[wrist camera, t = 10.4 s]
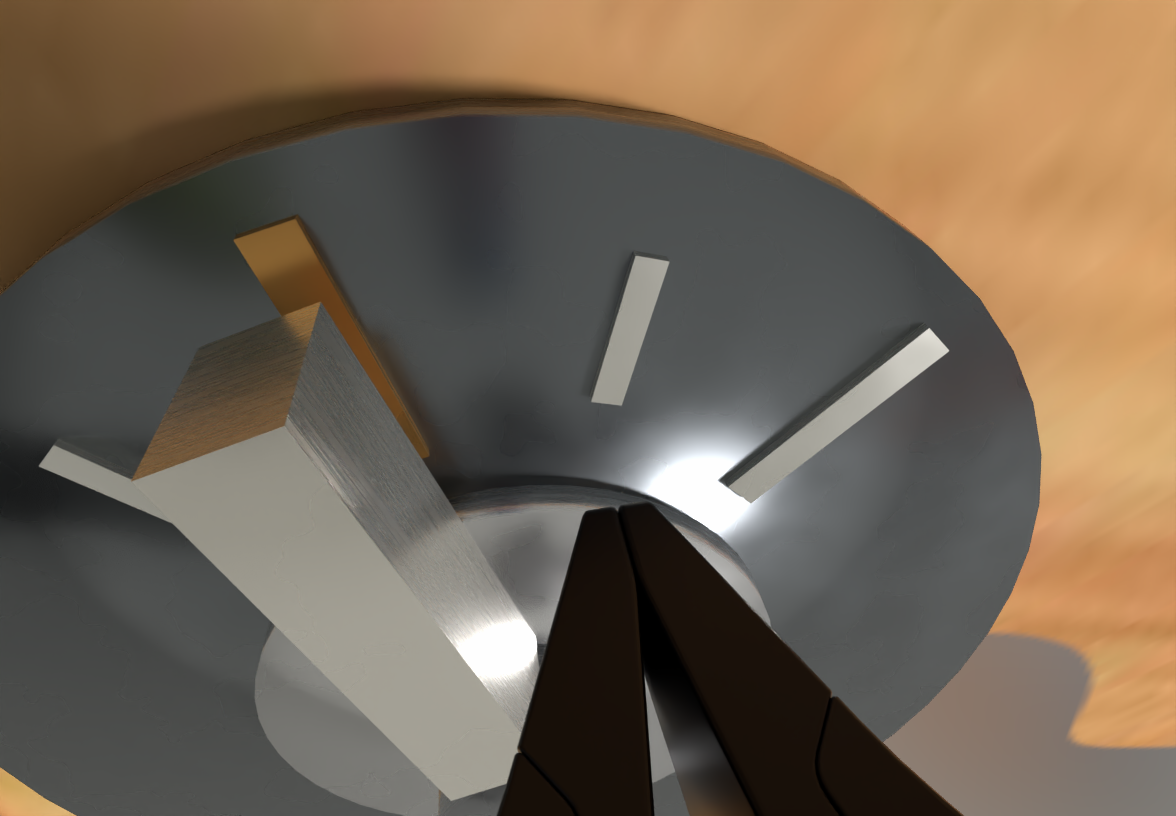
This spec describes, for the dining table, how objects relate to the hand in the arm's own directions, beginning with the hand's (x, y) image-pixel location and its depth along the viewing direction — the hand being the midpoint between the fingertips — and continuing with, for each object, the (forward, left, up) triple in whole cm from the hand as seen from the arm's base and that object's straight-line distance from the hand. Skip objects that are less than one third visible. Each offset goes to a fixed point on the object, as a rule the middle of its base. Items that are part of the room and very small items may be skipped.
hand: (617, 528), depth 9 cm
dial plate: (-8, -5, -6) cm, 11 cm away
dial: (-6, -3, -5) cm, 9 cm away
